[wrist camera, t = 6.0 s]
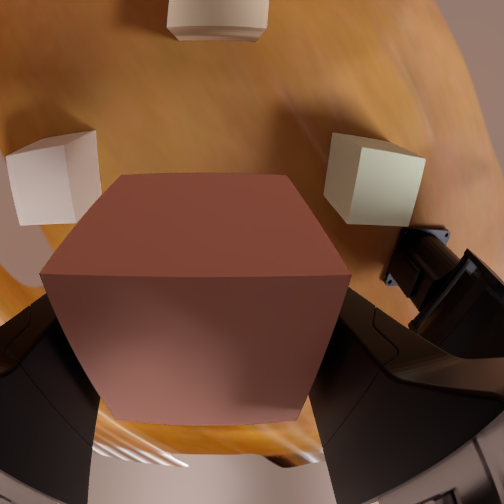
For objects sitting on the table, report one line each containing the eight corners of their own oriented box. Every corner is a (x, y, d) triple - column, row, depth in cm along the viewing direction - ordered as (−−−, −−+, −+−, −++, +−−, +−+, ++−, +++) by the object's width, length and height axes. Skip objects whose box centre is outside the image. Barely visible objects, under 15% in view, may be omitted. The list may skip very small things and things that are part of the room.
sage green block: (388, 141, 20) (425, 158, 16) (377, 198, 23) (408, 226, 18) (332, 132, 19) (361, 147, 15) (322, 195, 22) (347, 224, 18)
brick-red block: (286, 174, 9) (352, 274, 4) (270, 302, 11) (297, 420, 7) (120, 175, 8) (39, 273, 4) (140, 302, 11) (115, 419, 6)
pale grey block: (96, 129, 17) (64, 145, 13) (102, 193, 20) (76, 223, 16) (42, 138, 17) (5, 156, 13) (51, 197, 19) (20, 225, 15)
